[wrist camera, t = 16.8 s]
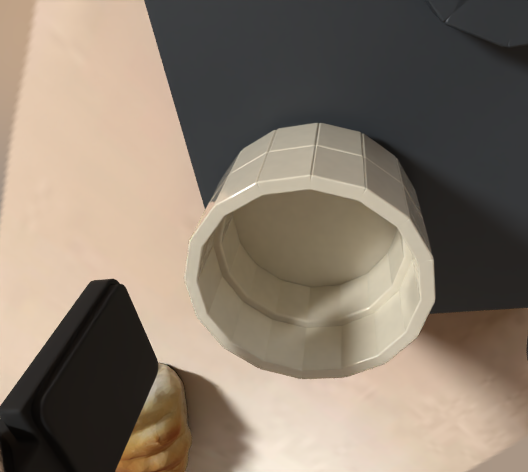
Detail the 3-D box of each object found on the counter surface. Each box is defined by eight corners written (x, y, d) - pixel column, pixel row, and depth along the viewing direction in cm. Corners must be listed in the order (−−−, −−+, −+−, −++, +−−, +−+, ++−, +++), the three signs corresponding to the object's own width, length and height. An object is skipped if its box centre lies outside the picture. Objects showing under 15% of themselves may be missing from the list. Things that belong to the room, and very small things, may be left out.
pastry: (212, 474, 30) (194, 540, 26) (106, 465, 31) (77, 527, 28) (183, 357, 25) (158, 420, 22) (60, 352, 26) (19, 411, 23)
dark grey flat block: (126, -145, 15) (69, -165, 12) (669, -306, 11) (781, -390, 9) (246, 298, 22) (231, 353, 19) (588, 272, 19) (631, 333, 16)
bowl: (198, 135, 17) (154, 195, 13) (409, 102, 15) (430, 159, 11) (242, 297, 20) (218, 382, 16) (420, 283, 18) (438, 375, 15)
